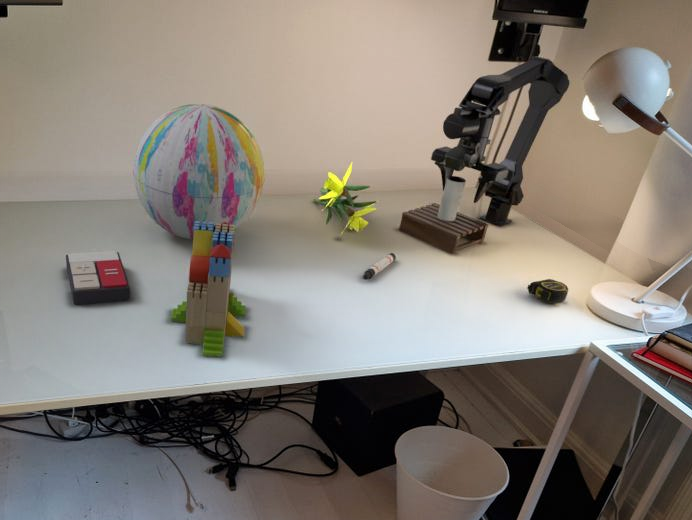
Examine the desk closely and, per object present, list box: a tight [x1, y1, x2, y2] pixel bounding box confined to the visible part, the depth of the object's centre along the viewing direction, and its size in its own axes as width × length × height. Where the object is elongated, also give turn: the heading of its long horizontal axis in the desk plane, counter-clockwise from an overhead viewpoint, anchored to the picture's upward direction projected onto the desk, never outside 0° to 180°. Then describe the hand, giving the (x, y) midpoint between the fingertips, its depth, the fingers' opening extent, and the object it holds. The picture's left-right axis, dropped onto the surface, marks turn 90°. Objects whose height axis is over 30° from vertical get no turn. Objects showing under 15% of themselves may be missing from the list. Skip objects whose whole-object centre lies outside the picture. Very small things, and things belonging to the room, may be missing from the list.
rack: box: [398, 202, 490, 255], centre depth 168 cm, size 14×17×5 cm
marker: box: [362, 252, 397, 280], centre depth 148 cm, size 15×2×2 cm, turn 145°
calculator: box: [65, 250, 131, 305], centre depth 132 cm, size 11×4×15 cm
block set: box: [170, 221, 247, 358], centre depth 121 cm, size 28×14×19 cm, turn 178°
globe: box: [132, 103, 265, 241], centre depth 149 cm, size 30×30×30 cm
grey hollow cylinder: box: [437, 175, 467, 221], centre depth 163 cm, size 4×4×10 cm
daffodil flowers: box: [313, 162, 378, 235], centre depth 167 cm, size 17×15×35 cm
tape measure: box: [526, 278, 569, 304], centre depth 143 cm, size 7×7×4 cm
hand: (459, 196), depth 166 cm, fingers open, 9 cm apart
